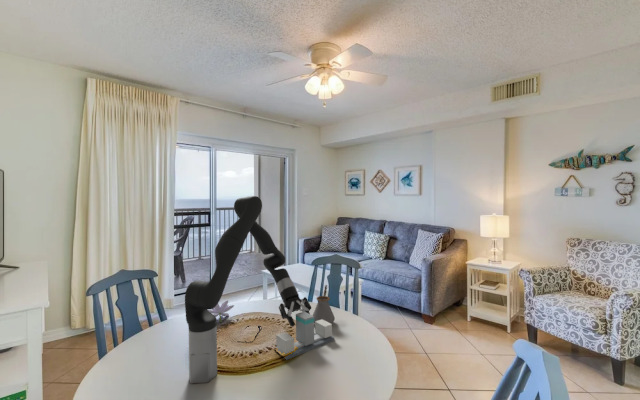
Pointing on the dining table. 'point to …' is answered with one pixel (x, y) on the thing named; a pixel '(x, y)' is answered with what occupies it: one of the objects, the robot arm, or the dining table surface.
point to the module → (305, 328)
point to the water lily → (221, 309)
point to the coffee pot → (323, 309)
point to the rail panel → (287, 343)
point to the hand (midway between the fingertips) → (301, 323)
